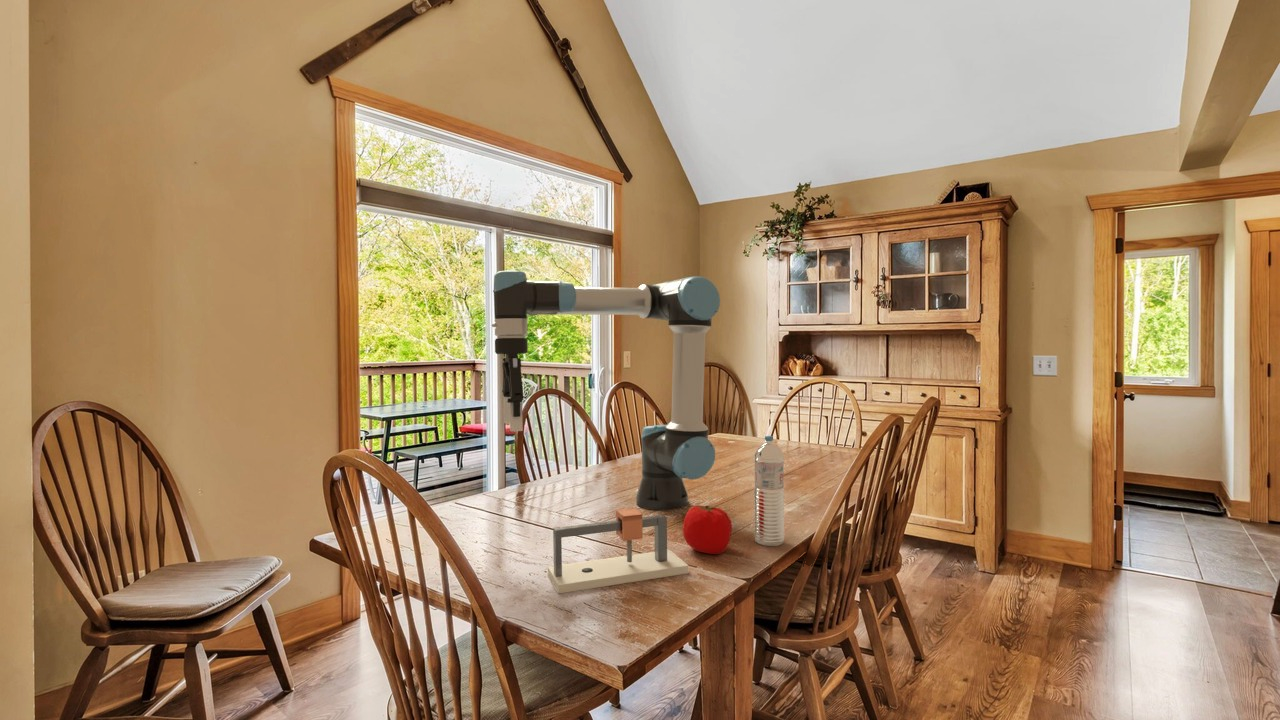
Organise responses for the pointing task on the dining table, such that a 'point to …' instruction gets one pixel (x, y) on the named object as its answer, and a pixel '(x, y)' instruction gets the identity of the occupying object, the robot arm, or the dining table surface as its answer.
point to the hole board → (615, 571)
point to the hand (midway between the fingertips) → (513, 427)
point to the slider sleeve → (629, 527)
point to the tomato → (707, 529)
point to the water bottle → (769, 494)
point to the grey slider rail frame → (609, 526)
